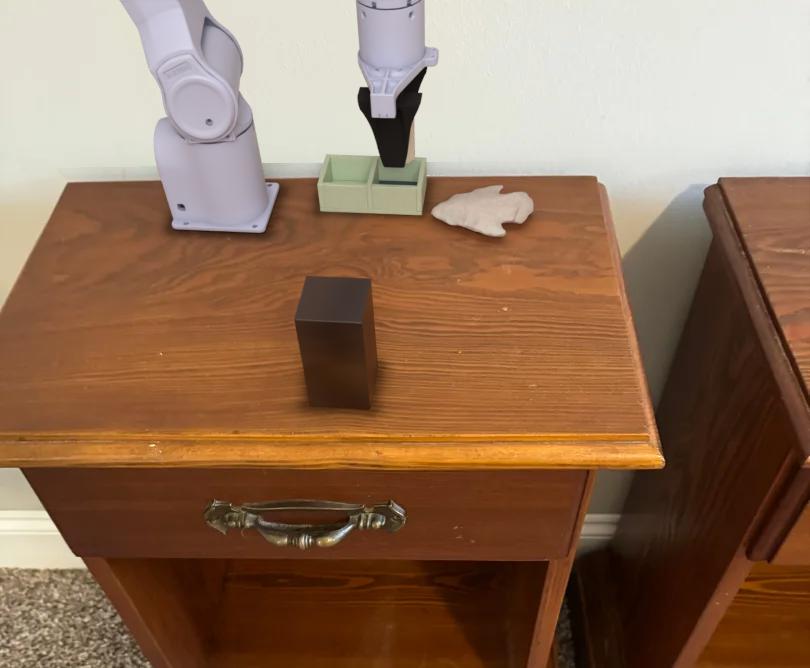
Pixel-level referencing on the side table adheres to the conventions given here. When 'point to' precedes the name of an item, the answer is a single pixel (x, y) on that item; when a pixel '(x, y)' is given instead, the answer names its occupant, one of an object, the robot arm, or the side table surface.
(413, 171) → the green divided box
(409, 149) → the beige cylinder
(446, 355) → the side table surface
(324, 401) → the stand
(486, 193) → the arrowhead
